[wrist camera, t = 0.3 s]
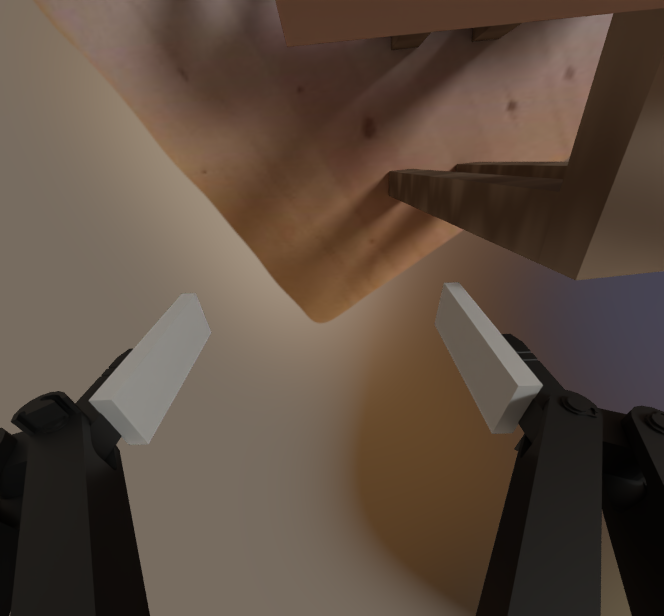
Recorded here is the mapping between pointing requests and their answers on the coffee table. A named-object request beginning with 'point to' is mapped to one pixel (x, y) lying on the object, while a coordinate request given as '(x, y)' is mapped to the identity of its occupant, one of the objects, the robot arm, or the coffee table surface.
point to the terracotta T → (427, 16)
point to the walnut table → (572, 170)
